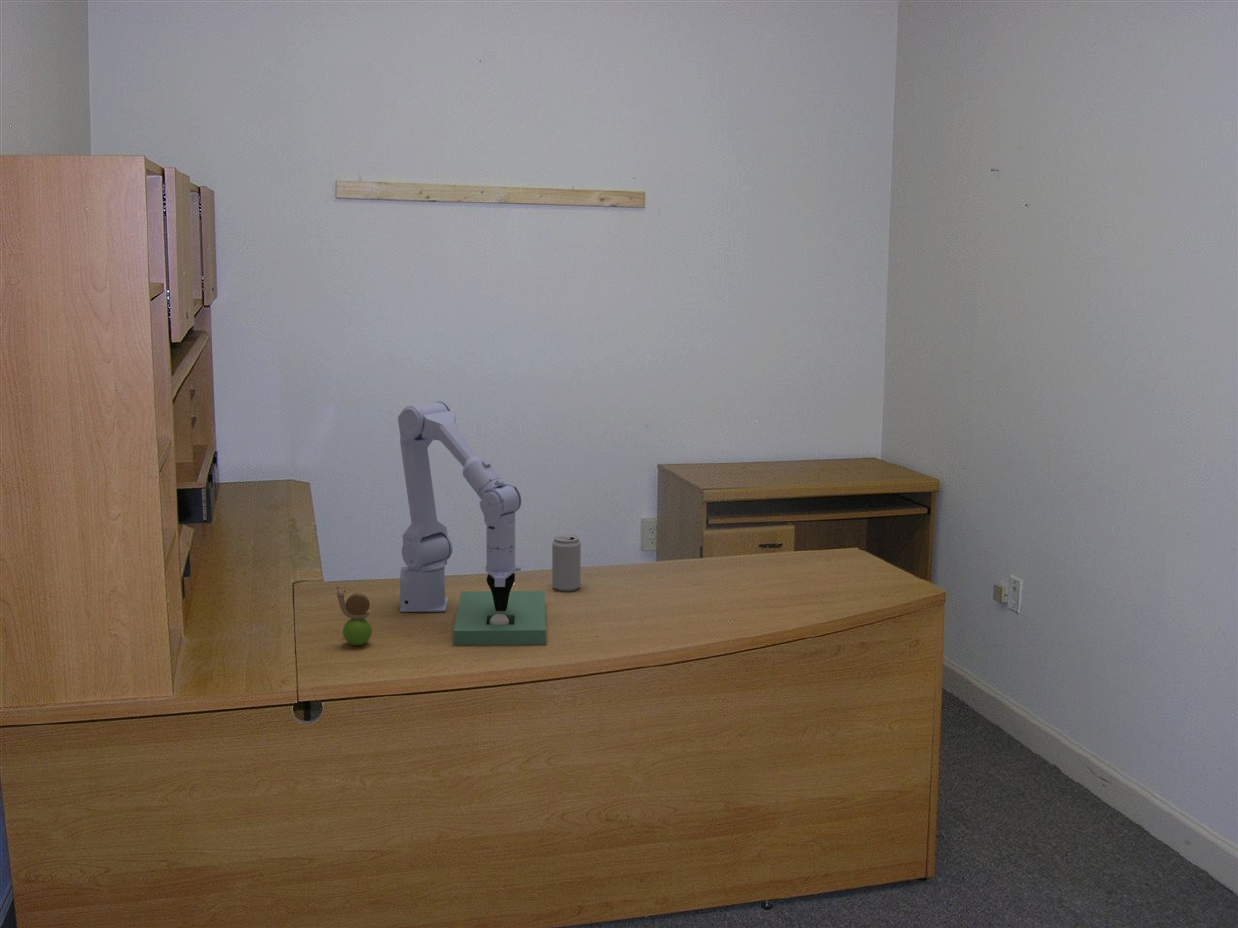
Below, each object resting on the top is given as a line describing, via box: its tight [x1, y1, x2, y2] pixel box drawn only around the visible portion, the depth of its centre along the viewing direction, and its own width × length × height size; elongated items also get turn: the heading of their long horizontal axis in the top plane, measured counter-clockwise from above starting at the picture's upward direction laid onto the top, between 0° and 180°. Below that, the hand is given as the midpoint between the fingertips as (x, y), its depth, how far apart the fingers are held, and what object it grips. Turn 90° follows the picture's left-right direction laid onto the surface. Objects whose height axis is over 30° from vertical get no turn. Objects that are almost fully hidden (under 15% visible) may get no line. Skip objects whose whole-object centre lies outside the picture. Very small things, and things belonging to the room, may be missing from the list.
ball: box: [489, 614, 509, 625], centre depth 220 cm, size 4×4×4 cm
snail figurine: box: [335, 584, 373, 646], centre depth 212 cm, size 5×6×12 cm
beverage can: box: [551, 534, 582, 592], centre depth 248 cm, size 6×6×12 cm
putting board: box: [452, 590, 547, 646], centre depth 226 cm, size 18×24×3 cm
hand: (501, 609), depth 222 cm, fingers closed
